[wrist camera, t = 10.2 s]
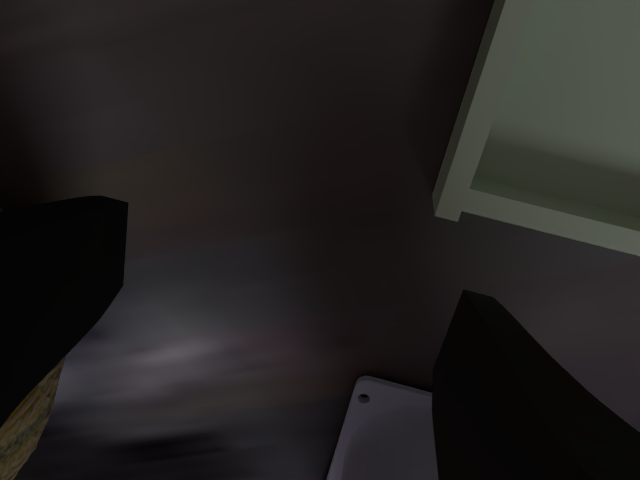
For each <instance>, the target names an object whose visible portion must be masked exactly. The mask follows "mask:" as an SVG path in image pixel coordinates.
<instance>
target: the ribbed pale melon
mask: <svg viewBox="0 0 640 480" xmlns="http://www.w3.org/2000/svg"><path fill="white" fill-rule="evenodd" d="M1 211H3V210H2V209H1V208H0V212H1ZM64 361H65V357H64V358H63V359H62V360H61V361H60V362H59V363H58V364H57V365H56V366H55V367H54V368H53V369H52V370H51V371H50V372H49V373H48V374H47V375H46V376H45V378H44V379H43V380H42V381H41V382H40V383H39V384H38V385H37V386H36V387H35V388H34V389H33V390H32V391H31V392H30V393H29V394H28V395H27V397H26V398H25V399H24V400H23V401H22V402H21V403H20V404H19V406H18V407H17V408H16V409H15V410H14V411H13V413H12V414H11V415H10V416H9V418H8V419H7V420H6V422H5V423H4V424H3V426H2V427H1V428H0V480H13V479H14V477H15V476H16V475H17V472H18V471H19V469H20V468H21V467H22V465H23V464H24V463H25V462H26V461H27V460H28V458H29V456H30V454H31V453H32V452H33V451H34V450H35V448H36V447H37V442H38V440H39V438H40V436H41V434H42V432H43V429H44V427H45V425H46V423H47V421H48V419H49V416H50V414H51V411H52V408H53V404H54V399H55V396H56V391H57V386H58V382H59V378H60V374H61V371H62V368H63V364H64Z"/></svg>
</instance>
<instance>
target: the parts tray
mask: <svg viewBox="0 0 640 480" xmlns="http://www.w3.org/2000/svg"><path fill="white" fill-rule="evenodd" d="M432 198H433V207H434V215H435V216H437V217H441V218H445V219H449V220H453V221H456V222H458V220H459V217H460V214H461V211H463V212H467V213H471V214H475V215H479V216H483V217H487V218H491V219H495V220H499V221H503V222H507V223H511V224H515V225H519V226H523V227H527V228H530V229H534V230H538V231H542V232H546V233H550V234H554V235H558V236H562V237H566V238H570V239H574V240H578V241H582V242H586V243H590V244H594V245H598V246H602V247H606V248H610V249H614V250H618V251H622V252H626V253H630V254H634V255H637V256H640V0H494V3H493V7H492V10H491V13H490V16H489V19H488V22H487V25H486V28H485V31H484V35H483V38H482V41H481V44H480V47H479V50H478V53H477V56H476V60H475V63H474V66H473V69H472V72H471V75H470V78H469V81H468V84H467V88H466V91H465V94H464V97H463V100H462V103H461V106H460V109H459V112H458V116H457V119H456V122H455V125H454V128H453V131H452V134H451V137H450V141H449V144H448V147H447V150H446V153H445V156H444V159H443V162H442V165H441V169H440V172H439V175H438V178H437V181H436V184H435V187H434V190H433V193H432Z"/></svg>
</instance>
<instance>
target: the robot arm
mask: <svg viewBox="0 0 640 480" xmlns="http://www.w3.org/2000/svg"><path fill="white" fill-rule="evenodd" d="M127 216H128V202H124V201H120V200H116V199H112V198H108V197H104V196H86V197H79V198H72V199H66V200H60V201H55V202H50V203H44V204H39V205H34V206H28V207H23V208H18V209H12V210H7V211H1V212H0V428H1V427H2V426H3V424H4V423H5V422H6V420H7V419H8V418H9V416H10V415H11V414H12V413H13V411H14V410H15V409H16V408H17V407H18V406H19V404H20V403H21V402H22V401H23V400H24V399H25V398H26V397H27V395H28V394H29V393H30V392H31V391H32V390H33V389H34V388H35V387H36V386H37V385H38V384H39V383H40V382H41V381H42V380H43V379H44V378H45V376H46V375H47V374H48V373H49V372H50V371H51V370H52V369H53V368H54V367H55V366H56V365H57V364H58V363H59V362H60V361H61V360H62V359H63V358H64V357H65V356H66V355H67V354H68V353H69V352H70V350H71V349H72V348H73V347H74V346H75V345H76V344H77V343H78V342H79V341H80V340H81V339H82V338H83V337H84V336H85V335H86V334H87V333H88V331H89V330H90V329H91V328H92V327H93V326H94V325H95V324H96V323H97V322H98V321H99V319H100V318H101V317H102V315H103V314H104V312H105V311H106V310H107V308H108V307H109V306H110V304H111V303H112V301H113V300H114V298H115V297H116V295H117V294H118V292H119V291H120V289H121V288H122V286H123V278H124V263H125V247H126V232H127ZM361 394H366V395H368V396H369V397H366V398H365V397H361V396H360V395H361ZM326 480H640V432H638V431H637V430H635V429H634V428H633V427H631V426H630V425H629V424H628V423H626V422H625V421H624V420H623V419H621V418H620V417H619V416H618V415H616V414H615V413H614V412H613V411H611V410H610V409H609V408H608V407H606V406H605V405H604V404H603V403H601V402H600V401H599V400H598V399H597V398H595V397H594V396H593V395H592V394H591V393H590V392H588V391H587V390H586V389H585V388H584V387H583V386H582V385H581V384H580V383H579V382H578V381H576V380H575V379H574V378H573V377H572V376H571V375H570V374H569V373H568V372H567V371H566V370H565V369H564V368H562V367H561V366H560V365H559V364H558V363H557V362H556V361H555V360H554V359H553V358H552V357H551V356H550V355H549V354H548V353H547V352H546V351H545V350H544V349H543V348H542V346H541V345H540V344H539V343H538V342H537V341H536V340H535V339H534V338H533V337H532V336H531V335H530V334H529V333H528V332H527V331H526V330H525V329H524V328H523V326H522V325H521V324H520V323H519V322H518V321H517V320H516V319H515V318H514V317H513V316H512V315H511V314H510V313H509V312H508V311H507V310H506V309H505V308H504V307H503V306H502V305H501V304H500V303H499V302H498V301H497V300H496V299H495V298H493V297H490V296H487V295H483V294H479V293H475V292H471V291H467V290H463V292H462V294H461V297H460V300H459V302H458V305H457V308H456V310H455V313H454V315H453V318H452V321H451V323H450V326H449V329H448V331H447V334H446V337H445V339H444V342H443V345H442V347H441V350H440V353H439V355H438V358H437V360H436V363H435V366H434V370H433V387H432V393H431V392H427V391H424V390H420V389H416V388H412V387H409V386H405V385H401V384H398V383H394V382H390V381H386V380H383V379H379V378H375V377H372V376H361V377H360V378H358V380H357V381H356V384H355V387H354V390H353V394H352V397H351V400H350V404H349V407H348V410H347V413H346V417H345V420H344V423H343V427H342V430H341V433H340V436H339V440H338V443H337V446H336V449H335V453H334V456H333V459H332V463H331V466H330V469H329V472H328V476H327V479H326Z"/></svg>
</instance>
